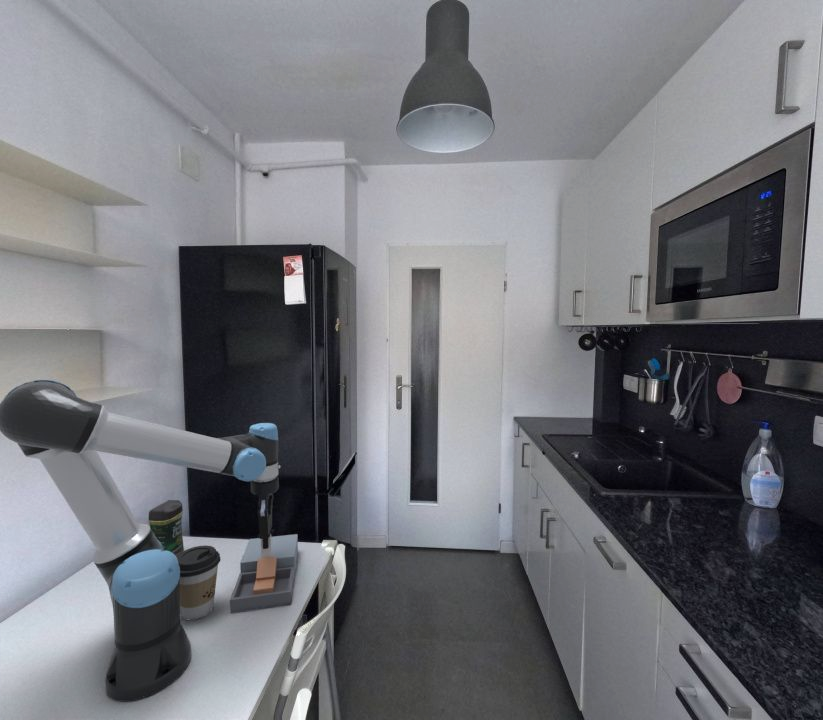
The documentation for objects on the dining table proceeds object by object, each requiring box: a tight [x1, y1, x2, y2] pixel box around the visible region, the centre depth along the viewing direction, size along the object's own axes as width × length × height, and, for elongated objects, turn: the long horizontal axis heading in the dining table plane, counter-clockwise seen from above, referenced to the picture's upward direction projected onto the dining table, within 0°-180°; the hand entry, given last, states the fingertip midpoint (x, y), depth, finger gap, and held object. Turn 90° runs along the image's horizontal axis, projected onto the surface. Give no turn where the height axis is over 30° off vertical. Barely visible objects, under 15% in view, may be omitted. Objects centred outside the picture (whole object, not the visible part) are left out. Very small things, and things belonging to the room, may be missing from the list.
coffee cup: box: [177, 545, 221, 621], centre depth 102 cm, size 11×11×15 cm
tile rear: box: [256, 557, 277, 579], centre depth 112 cm, size 5×5×2 cm
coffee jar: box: [147, 499, 185, 557], centre depth 125 cm, size 10×8×19 cm
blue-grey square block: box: [239, 533, 299, 577], centre depth 122 cm, size 14×15×6 cm
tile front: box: [253, 577, 275, 595], centre depth 108 cm, size 5×5×2 cm
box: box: [229, 567, 295, 614], centre depth 108 cm, size 12×15×4 cm
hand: (266, 557), depth 114 cm, fingers closed
